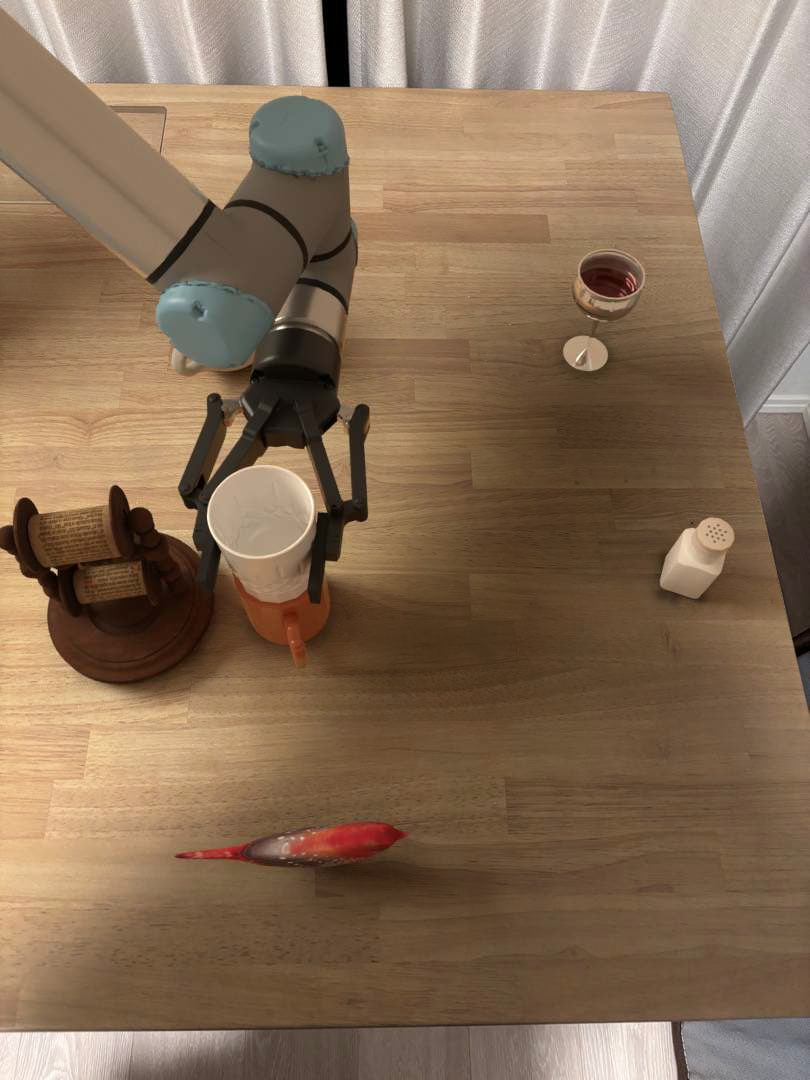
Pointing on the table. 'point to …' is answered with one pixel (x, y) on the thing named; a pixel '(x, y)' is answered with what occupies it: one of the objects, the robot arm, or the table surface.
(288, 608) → the mug
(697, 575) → the salt shaker
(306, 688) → the table surface
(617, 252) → the wineglass
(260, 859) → the decorative bird figurine
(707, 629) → the table surface
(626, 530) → the table surface
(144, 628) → the scroll
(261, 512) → the white cup
